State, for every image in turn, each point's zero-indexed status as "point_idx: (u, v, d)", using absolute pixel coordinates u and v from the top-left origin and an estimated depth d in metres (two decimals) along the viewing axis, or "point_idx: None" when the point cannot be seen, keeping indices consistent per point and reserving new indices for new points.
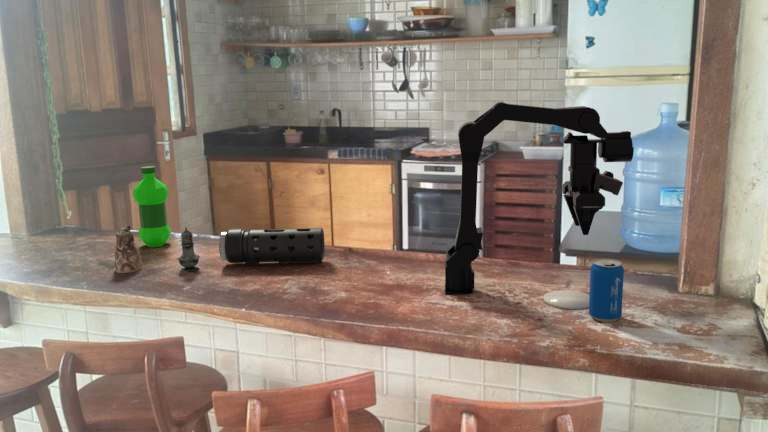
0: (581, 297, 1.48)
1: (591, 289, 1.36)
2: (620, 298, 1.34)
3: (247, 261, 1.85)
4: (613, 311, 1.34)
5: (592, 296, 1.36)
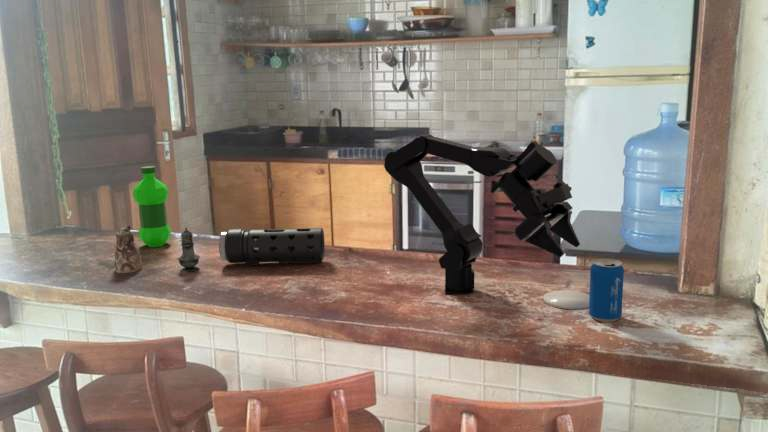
0: (581, 297, 1.48)
1: (591, 289, 1.36)
2: (620, 298, 1.34)
3: (247, 261, 1.85)
4: (613, 311, 1.34)
5: (592, 296, 1.36)
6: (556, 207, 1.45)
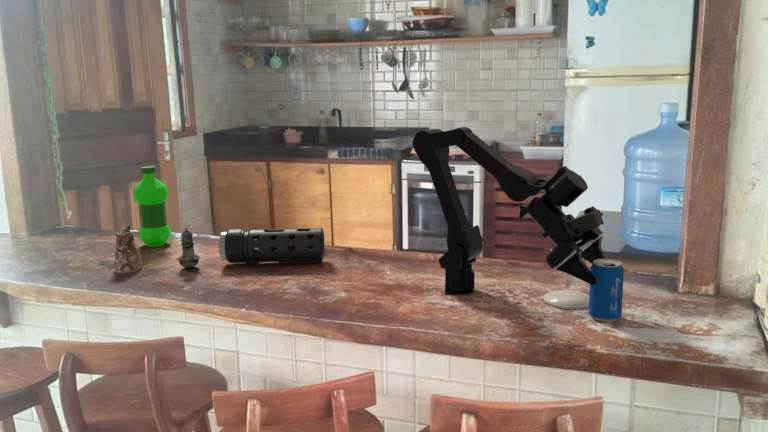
0: (581, 297, 1.48)
1: (591, 289, 1.36)
2: (620, 298, 1.34)
3: (247, 261, 1.85)
4: (613, 311, 1.34)
5: (592, 296, 1.36)
6: (586, 232, 1.42)
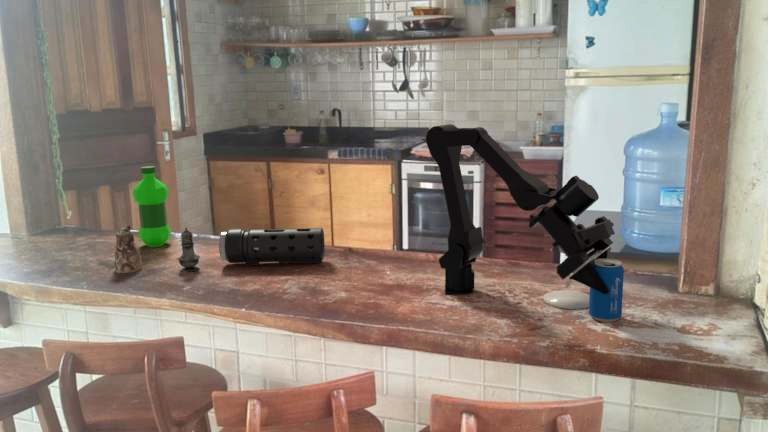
0: (581, 297, 1.48)
1: (591, 289, 1.36)
2: (620, 298, 1.34)
3: (247, 261, 1.85)
4: (613, 311, 1.34)
5: (592, 295, 1.36)
6: (596, 242, 1.41)
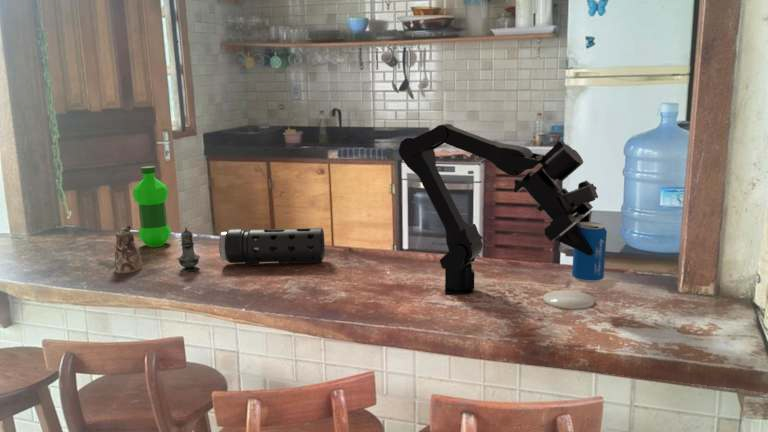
0: (581, 297, 1.48)
1: (575, 251, 1.40)
2: (603, 259, 1.39)
3: (247, 261, 1.85)
4: (597, 272, 1.38)
5: (577, 257, 1.39)
6: (578, 206, 1.45)
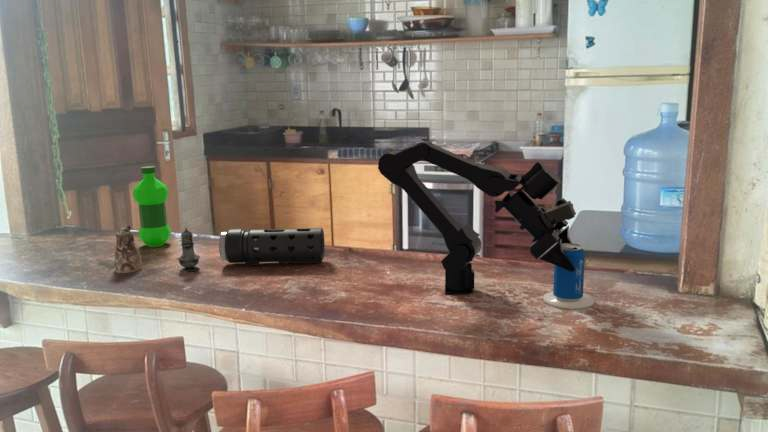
0: None
1: (556, 272, 1.46)
2: (583, 278, 1.46)
3: (247, 261, 1.85)
4: (578, 290, 1.45)
5: (558, 278, 1.46)
6: (555, 223, 1.52)
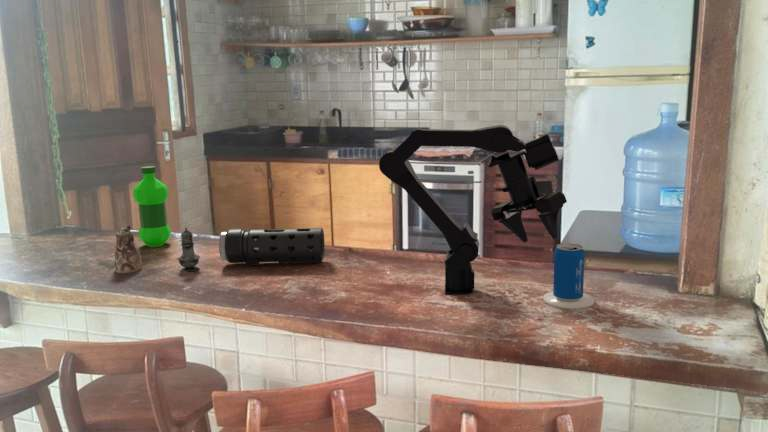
0: None
1: (556, 272, 1.46)
2: (582, 278, 1.46)
3: (247, 261, 1.85)
4: (578, 291, 1.45)
5: (558, 278, 1.46)
6: None
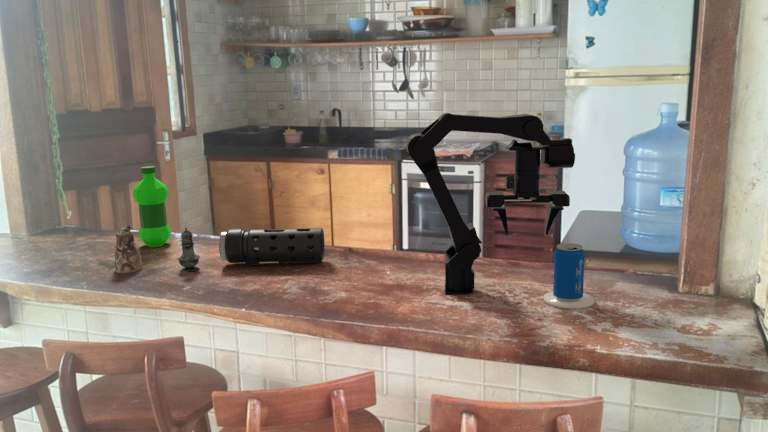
0: None
1: (556, 272, 1.46)
2: (582, 278, 1.46)
3: (247, 261, 1.85)
4: (578, 291, 1.45)
5: (558, 278, 1.46)
6: None
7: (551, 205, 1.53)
